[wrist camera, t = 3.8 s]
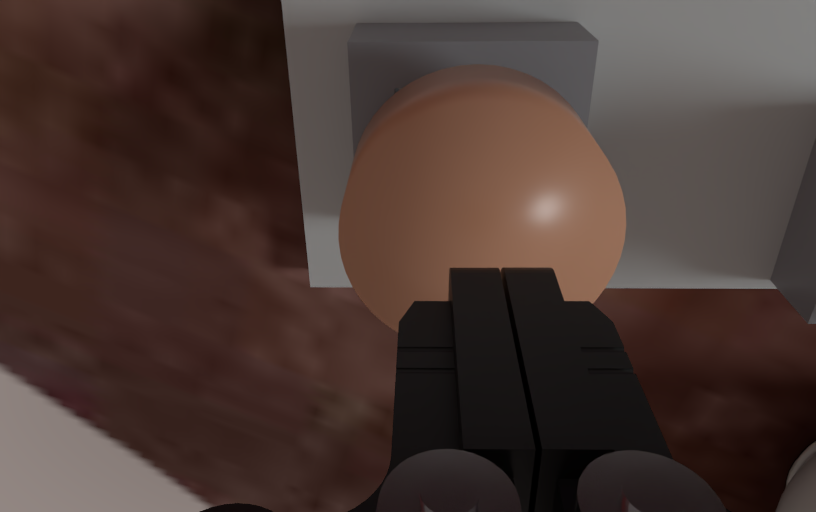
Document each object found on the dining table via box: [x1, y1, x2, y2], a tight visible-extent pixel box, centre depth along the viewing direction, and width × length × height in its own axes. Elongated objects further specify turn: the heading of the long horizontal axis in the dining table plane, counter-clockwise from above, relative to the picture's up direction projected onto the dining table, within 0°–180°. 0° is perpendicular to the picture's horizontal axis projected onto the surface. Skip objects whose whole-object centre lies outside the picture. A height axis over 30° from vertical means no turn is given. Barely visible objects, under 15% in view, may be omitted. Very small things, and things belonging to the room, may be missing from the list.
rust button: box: [338, 64, 626, 333], centre depth 14 cm, size 5×5×5 cm
